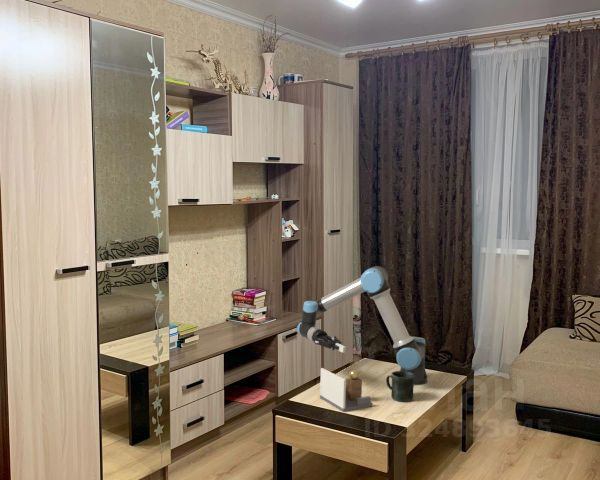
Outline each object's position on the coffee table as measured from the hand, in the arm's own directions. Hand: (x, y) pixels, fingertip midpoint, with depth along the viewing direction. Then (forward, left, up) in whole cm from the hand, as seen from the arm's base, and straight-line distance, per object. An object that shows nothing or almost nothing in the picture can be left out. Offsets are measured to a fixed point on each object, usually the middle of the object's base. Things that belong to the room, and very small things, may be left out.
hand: (344, 349), depth 297 cm
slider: (-1, +11, -20) cm, 23 cm away
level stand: (+2, +12, -22) cm, 25 cm away
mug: (-25, +11, -22) cm, 35 cm away
